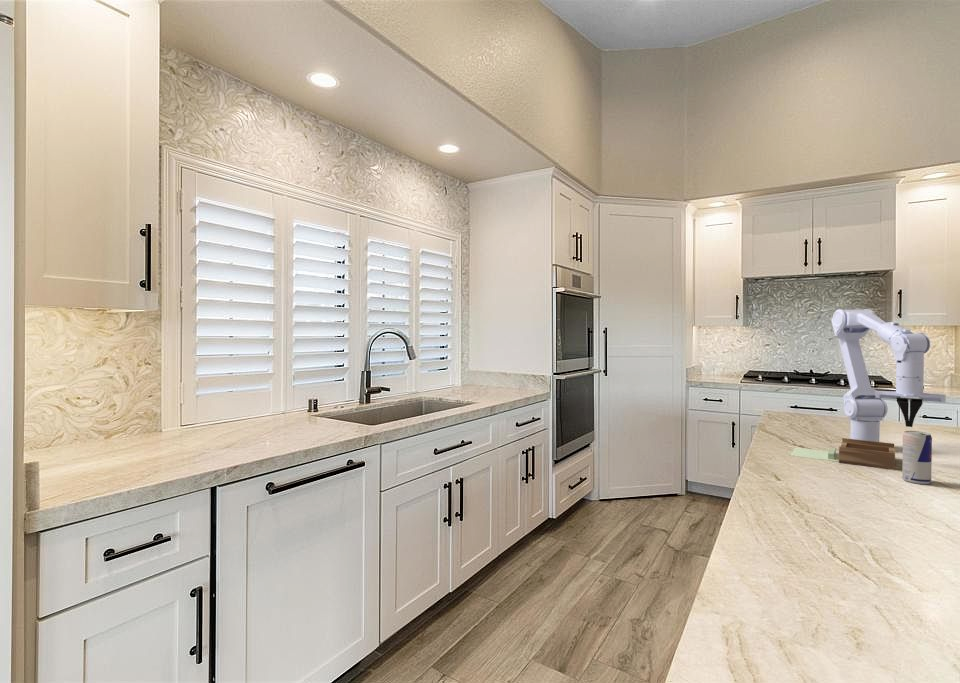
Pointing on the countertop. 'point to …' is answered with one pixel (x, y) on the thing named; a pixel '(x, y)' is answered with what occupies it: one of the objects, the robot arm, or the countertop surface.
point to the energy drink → (917, 457)
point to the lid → (817, 454)
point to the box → (867, 453)
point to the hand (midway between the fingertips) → (908, 426)
